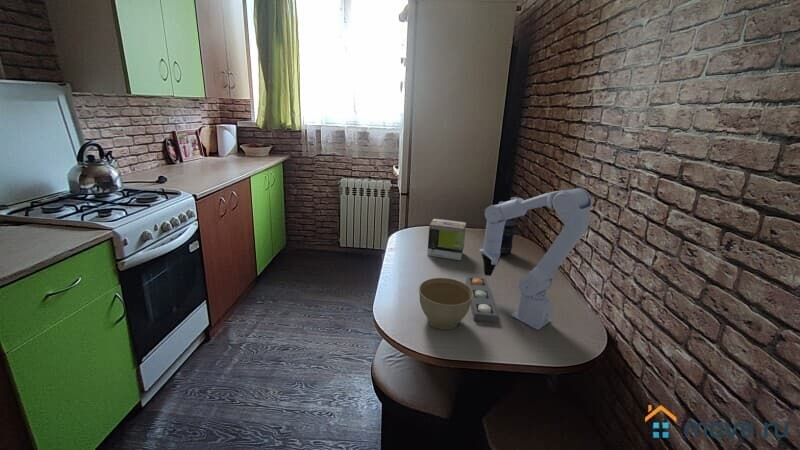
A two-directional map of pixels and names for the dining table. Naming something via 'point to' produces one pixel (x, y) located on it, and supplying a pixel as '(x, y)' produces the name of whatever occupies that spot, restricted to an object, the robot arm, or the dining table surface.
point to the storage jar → (507, 238)
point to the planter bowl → (445, 301)
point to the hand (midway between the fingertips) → (487, 274)
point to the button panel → (482, 301)
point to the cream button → (484, 308)
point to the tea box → (446, 239)
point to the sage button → (480, 294)
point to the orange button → (477, 281)
